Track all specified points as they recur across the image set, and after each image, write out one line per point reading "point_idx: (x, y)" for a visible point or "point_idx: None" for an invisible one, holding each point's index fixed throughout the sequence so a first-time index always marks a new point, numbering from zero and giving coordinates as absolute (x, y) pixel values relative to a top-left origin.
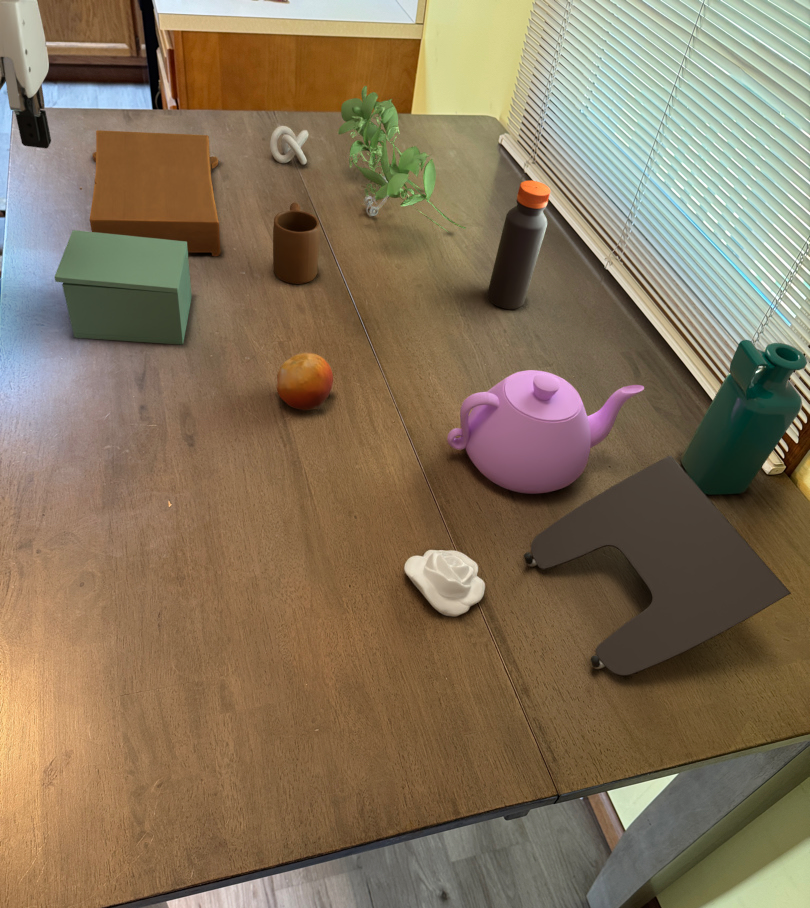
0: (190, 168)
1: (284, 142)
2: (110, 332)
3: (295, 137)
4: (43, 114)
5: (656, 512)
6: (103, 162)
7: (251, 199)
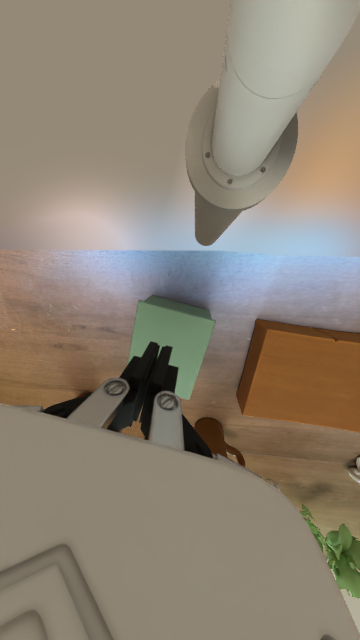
0: (337, 415)
1: None
2: None
3: None
4: (130, 425)
5: None
6: None
7: (309, 427)
